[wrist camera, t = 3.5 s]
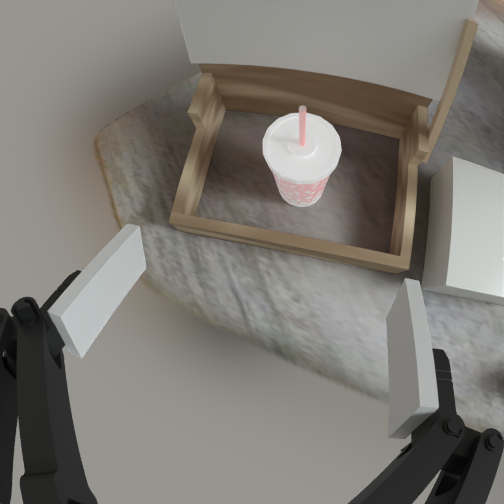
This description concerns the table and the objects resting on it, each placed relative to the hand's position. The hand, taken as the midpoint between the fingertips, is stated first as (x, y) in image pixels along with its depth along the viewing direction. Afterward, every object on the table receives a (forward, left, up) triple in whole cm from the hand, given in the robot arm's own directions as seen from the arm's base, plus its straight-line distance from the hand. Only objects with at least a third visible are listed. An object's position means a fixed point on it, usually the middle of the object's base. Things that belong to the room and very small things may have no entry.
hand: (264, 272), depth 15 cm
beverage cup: (-11, 0, -16) cm, 20 cm away
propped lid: (-18, 0, -12) cm, 22 cm away
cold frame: (-12, 0, -16) cm, 20 cm away
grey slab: (-9, +20, -16) cm, 27 cm away
